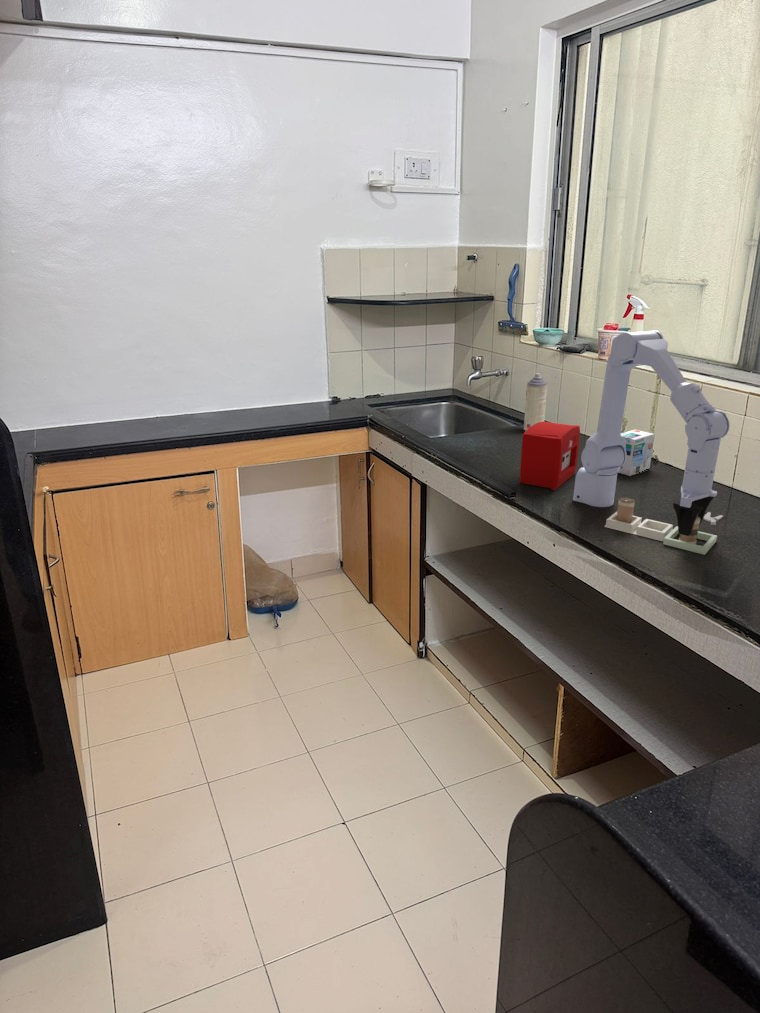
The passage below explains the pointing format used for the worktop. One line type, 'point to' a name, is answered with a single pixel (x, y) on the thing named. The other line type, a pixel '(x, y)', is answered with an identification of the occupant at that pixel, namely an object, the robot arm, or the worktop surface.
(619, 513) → the fuse
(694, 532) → the cylinder
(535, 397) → the aerosol can
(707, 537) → the tray
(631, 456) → the light bulb box
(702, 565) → the worktop surface
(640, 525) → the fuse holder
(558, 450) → the fire alarm
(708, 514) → the pliers
